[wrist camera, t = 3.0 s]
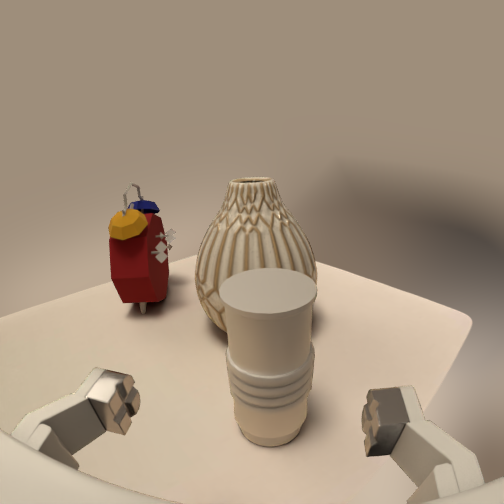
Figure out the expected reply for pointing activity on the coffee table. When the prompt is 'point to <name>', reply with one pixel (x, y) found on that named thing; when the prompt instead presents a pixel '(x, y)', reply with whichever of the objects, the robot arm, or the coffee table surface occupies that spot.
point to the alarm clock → (139, 252)
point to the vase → (249, 241)
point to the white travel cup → (269, 351)
